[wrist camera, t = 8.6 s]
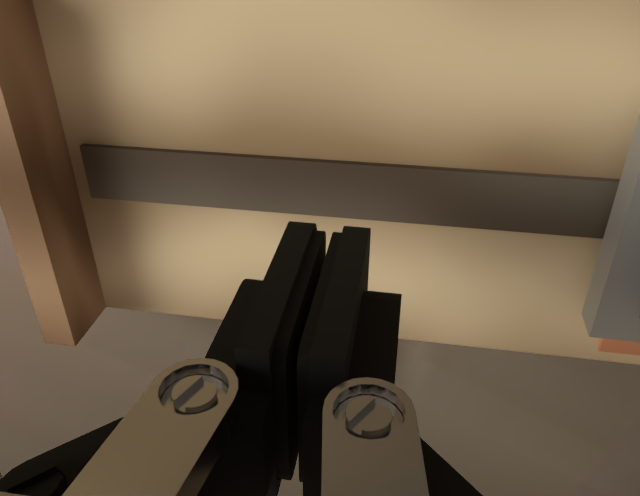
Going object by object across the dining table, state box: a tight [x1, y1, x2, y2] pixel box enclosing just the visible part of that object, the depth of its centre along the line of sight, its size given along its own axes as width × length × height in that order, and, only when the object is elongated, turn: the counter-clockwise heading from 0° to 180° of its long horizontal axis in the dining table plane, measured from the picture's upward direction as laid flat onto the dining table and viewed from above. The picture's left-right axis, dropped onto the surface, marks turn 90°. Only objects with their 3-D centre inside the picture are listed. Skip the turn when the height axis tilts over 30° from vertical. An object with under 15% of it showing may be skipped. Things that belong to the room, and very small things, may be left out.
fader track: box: [0, 0, 640, 365], centre depth 16 cm, size 10×22×4 cm, turn 90°
